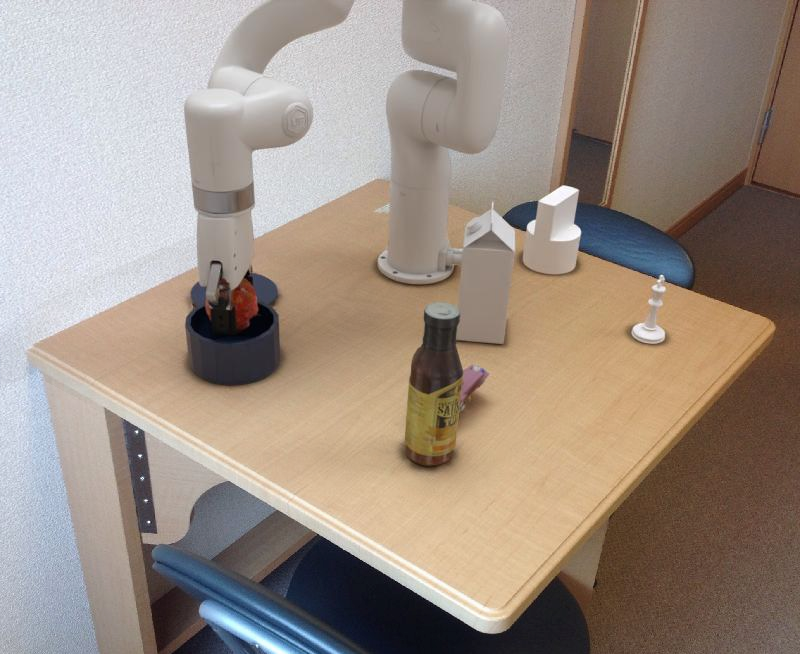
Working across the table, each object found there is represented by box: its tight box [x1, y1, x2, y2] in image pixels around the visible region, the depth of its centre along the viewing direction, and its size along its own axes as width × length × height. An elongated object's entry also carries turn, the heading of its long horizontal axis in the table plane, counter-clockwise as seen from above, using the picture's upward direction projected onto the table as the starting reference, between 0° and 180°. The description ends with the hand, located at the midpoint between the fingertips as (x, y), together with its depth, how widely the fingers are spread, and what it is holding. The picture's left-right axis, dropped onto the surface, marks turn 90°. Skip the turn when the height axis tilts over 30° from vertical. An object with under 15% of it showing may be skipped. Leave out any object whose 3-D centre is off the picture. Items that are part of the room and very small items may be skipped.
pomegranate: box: [205, 278, 260, 332], centre depth 123 cm, size 7×7×10 cm
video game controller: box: [459, 363, 490, 413], centre depth 119 cm, size 10×5×7 cm, turn 148°
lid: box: [190, 272, 279, 307], centre depth 140 cm, size 13×13×7 cm
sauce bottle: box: [404, 301, 464, 467], centre depth 107 cm, size 6×6×20 cm
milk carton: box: [456, 201, 516, 345], centre depth 131 cm, size 7×7×19 cm
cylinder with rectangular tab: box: [522, 184, 582, 275], centre depth 153 cm, size 9×9×12 cm
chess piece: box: [631, 274, 667, 345], centre depth 135 cm, size 5×5×10 cm
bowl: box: [184, 300, 281, 386], centre depth 126 cm, size 12×13×6 cm
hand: (234, 316), depth 124 cm, fingers closed on pomegranate, 7 cm apart
